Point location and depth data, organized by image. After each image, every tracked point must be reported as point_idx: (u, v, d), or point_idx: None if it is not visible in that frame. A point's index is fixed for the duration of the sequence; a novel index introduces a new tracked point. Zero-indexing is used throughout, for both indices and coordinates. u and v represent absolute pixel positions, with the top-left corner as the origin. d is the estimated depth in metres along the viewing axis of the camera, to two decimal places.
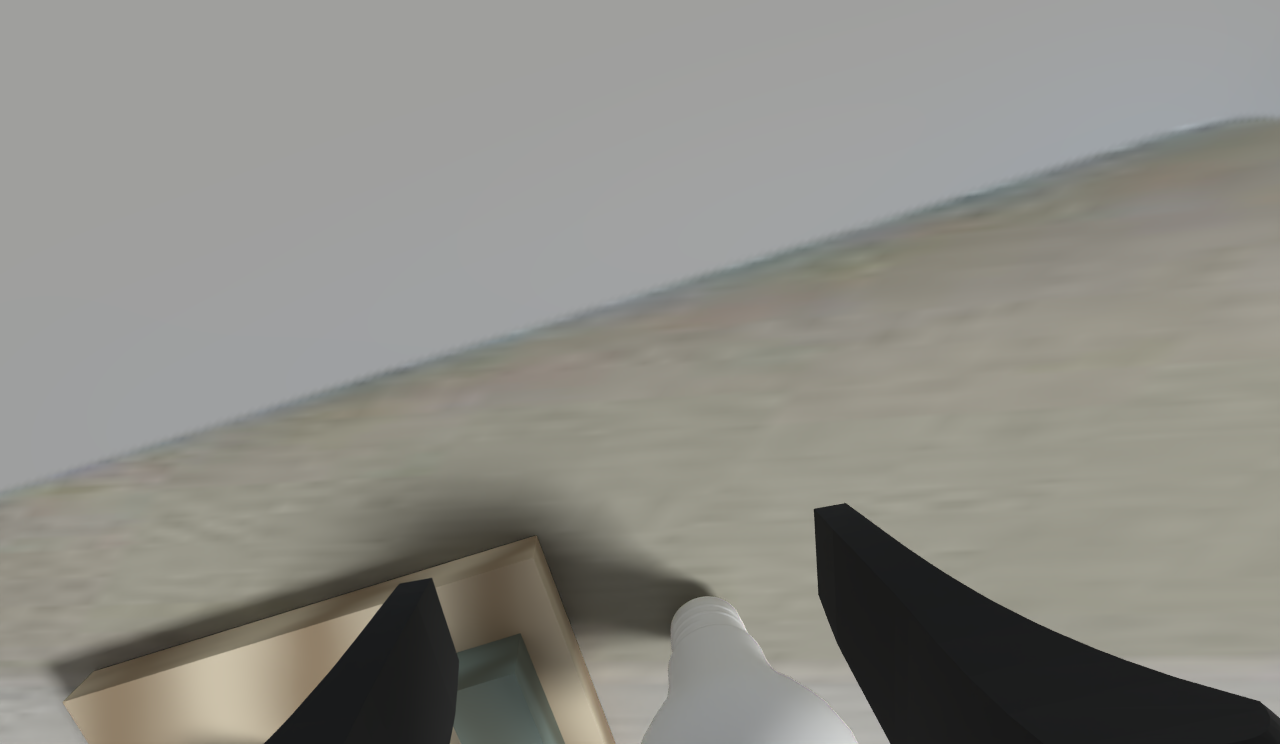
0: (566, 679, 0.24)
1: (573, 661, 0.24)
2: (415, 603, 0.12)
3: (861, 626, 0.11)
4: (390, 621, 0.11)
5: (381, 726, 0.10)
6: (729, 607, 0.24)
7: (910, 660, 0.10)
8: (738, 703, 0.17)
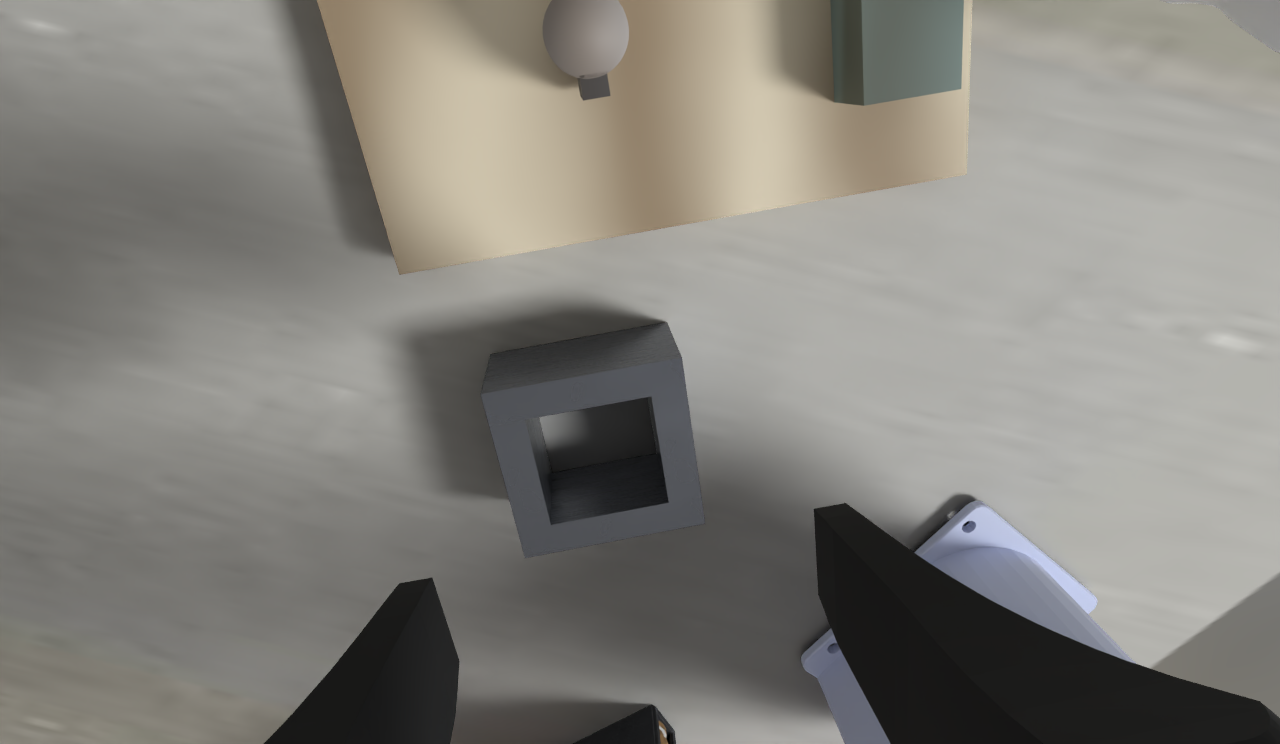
0: None
1: None
2: (415, 603, 0.12)
3: (861, 627, 0.11)
4: (390, 621, 0.11)
5: (381, 726, 0.10)
6: None
7: (910, 660, 0.10)
8: None
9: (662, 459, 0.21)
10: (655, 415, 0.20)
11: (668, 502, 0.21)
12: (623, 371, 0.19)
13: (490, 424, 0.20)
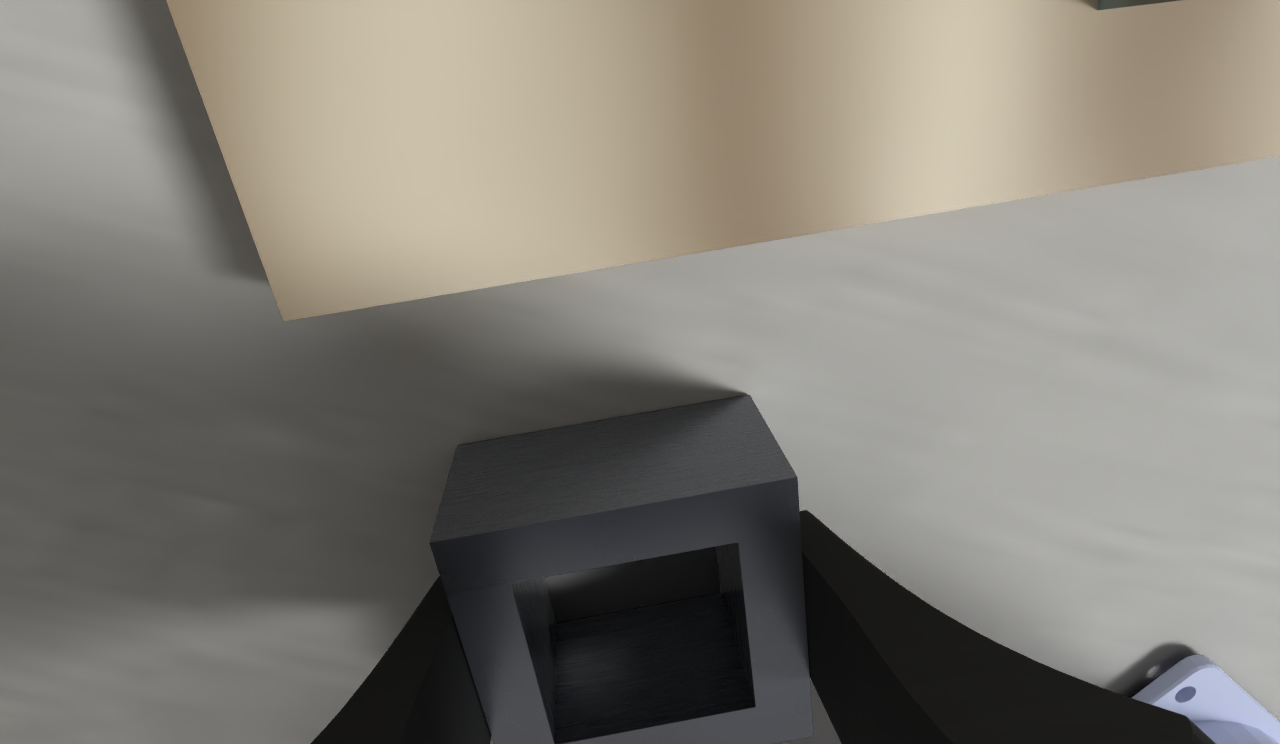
0: None
1: None
2: None
3: (817, 635, 0.11)
4: (435, 613, 0.11)
5: (432, 716, 0.10)
6: None
7: (858, 670, 0.10)
8: None
9: (749, 641, 0.12)
10: (743, 572, 0.11)
11: (755, 706, 0.13)
12: (690, 500, 0.11)
13: (448, 592, 0.11)
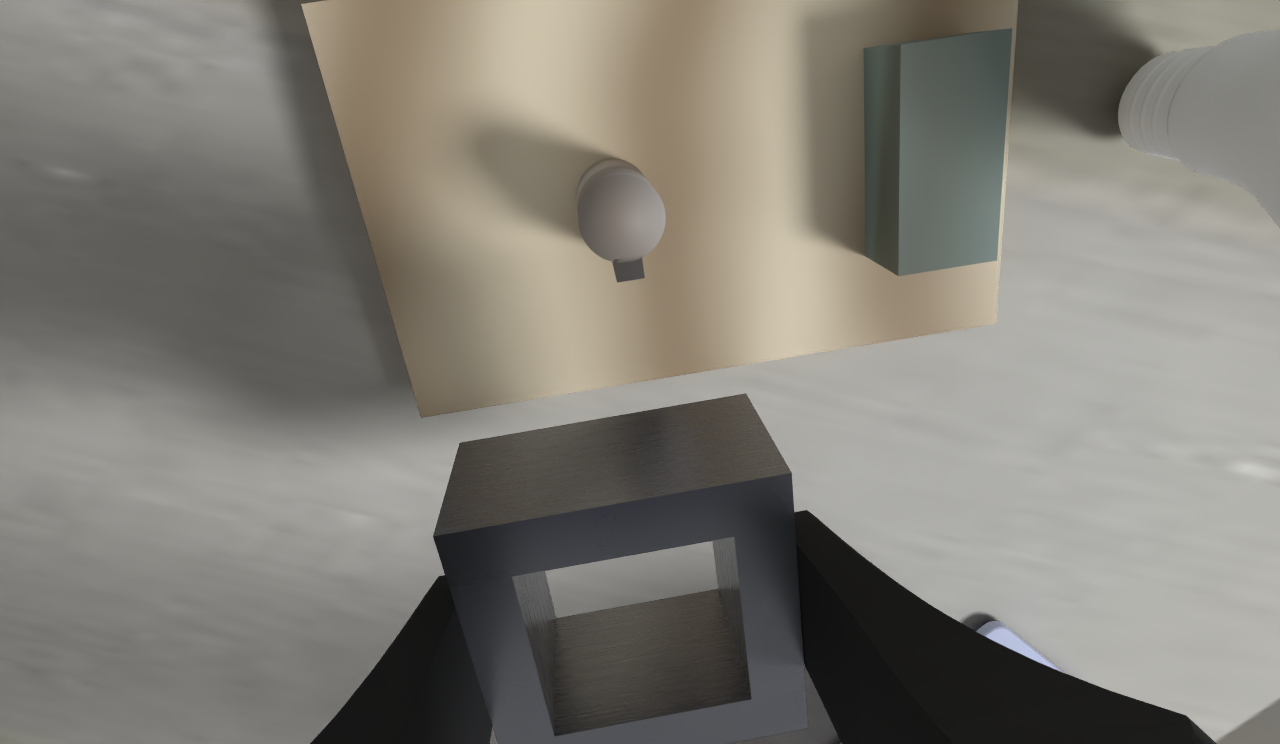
0: None
1: (1010, 100, 0.17)
2: None
3: (818, 635, 0.11)
4: (435, 613, 0.11)
5: (432, 716, 0.10)
6: None
7: (859, 670, 0.10)
8: None
9: (745, 634, 0.12)
10: (738, 566, 0.12)
11: (751, 698, 0.13)
12: (687, 495, 0.11)
13: (451, 584, 0.11)
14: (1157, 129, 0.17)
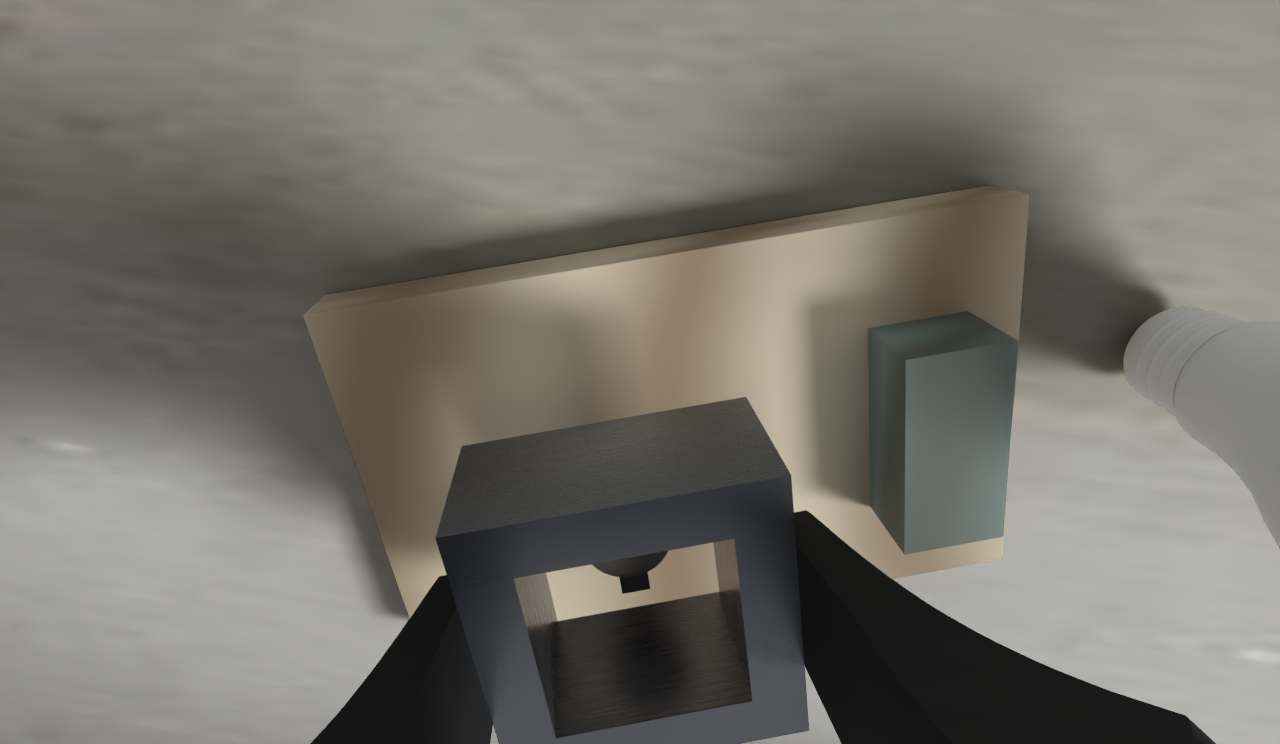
0: None
1: None
2: None
3: (817, 635, 0.11)
4: (435, 613, 0.11)
5: (433, 716, 0.10)
6: None
7: (858, 670, 0.10)
8: None
9: (746, 636, 0.12)
10: (739, 568, 0.12)
11: (752, 700, 0.13)
12: (687, 498, 0.11)
13: (453, 586, 0.11)
14: (1163, 396, 0.17)
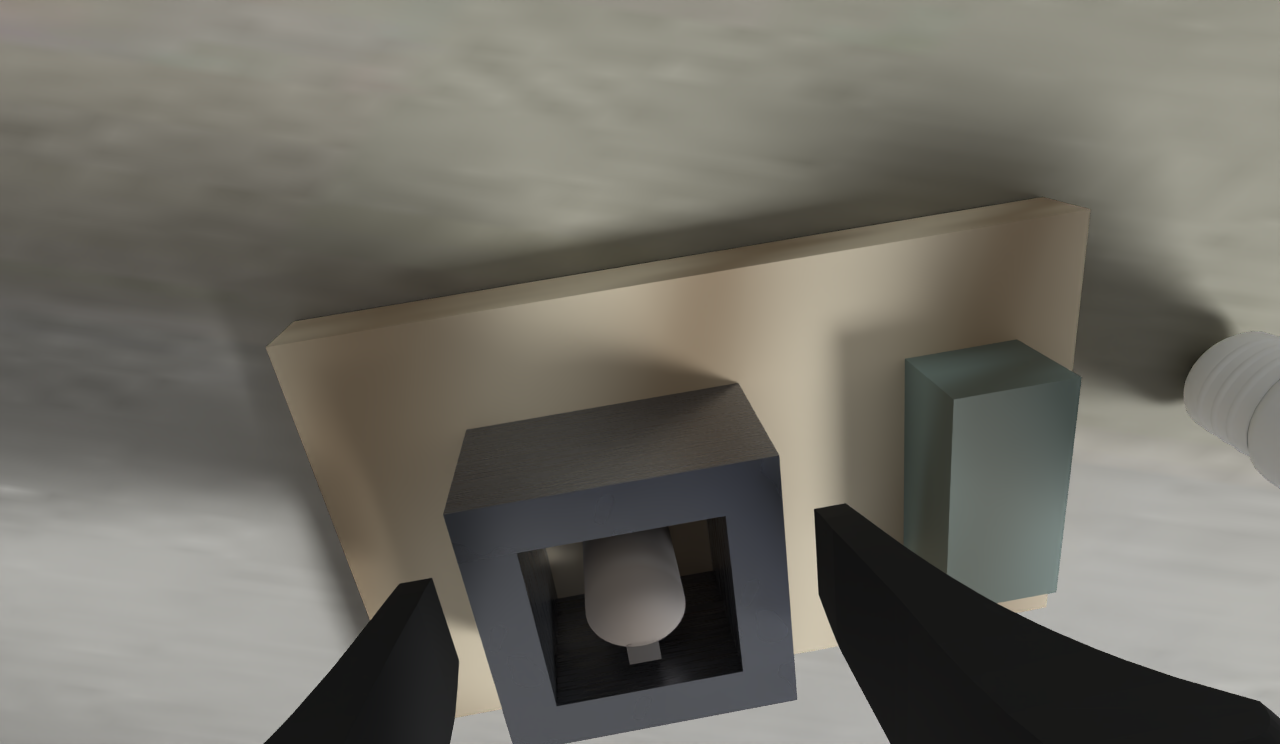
0: None
1: None
2: (415, 603, 0.12)
3: (861, 627, 0.11)
4: (390, 621, 0.11)
5: (381, 726, 0.10)
6: None
7: (910, 660, 0.10)
8: None
9: (737, 609, 0.13)
10: (730, 544, 0.12)
11: (743, 670, 0.14)
12: (681, 477, 0.12)
13: (459, 561, 0.12)
14: (1234, 433, 0.15)
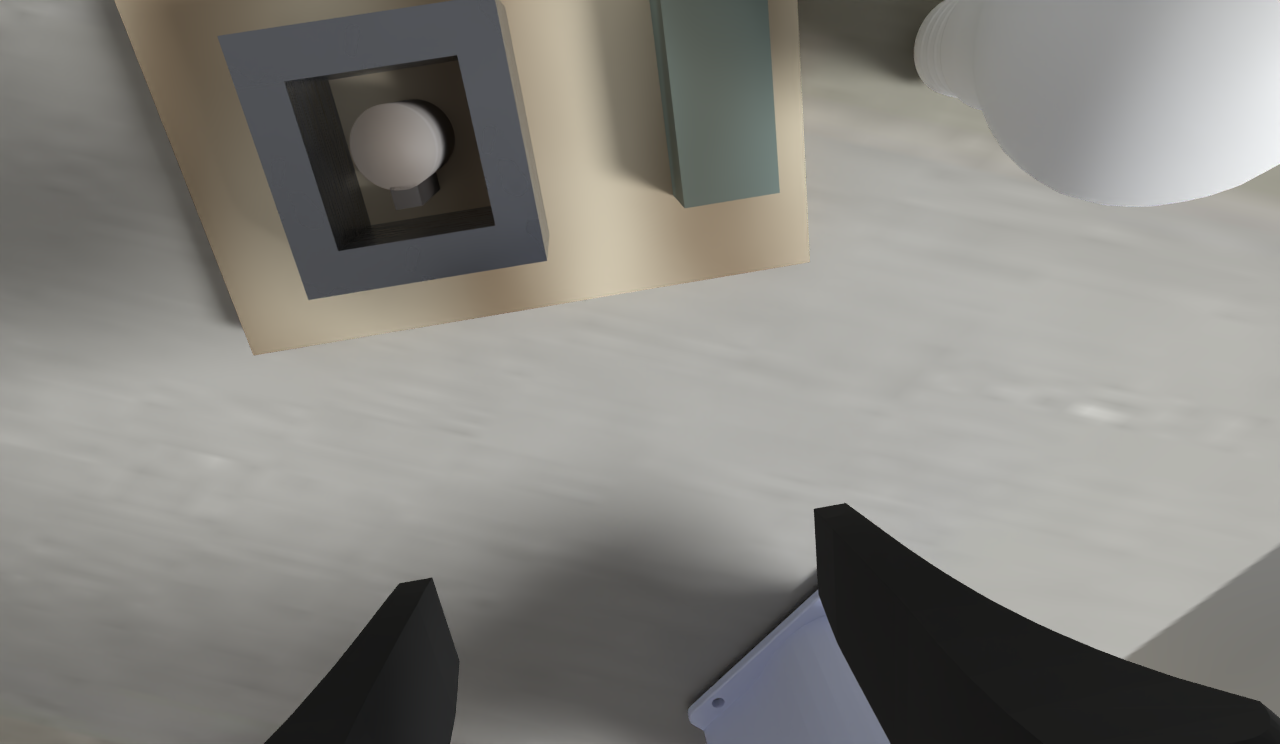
0: (784, 67, 0.18)
1: (798, 41, 0.18)
2: (415, 603, 0.12)
3: (861, 627, 0.11)
4: (390, 621, 0.11)
5: (381, 726, 0.10)
6: None
7: (910, 660, 0.10)
8: None
9: (481, 158, 0.16)
10: (465, 86, 0.15)
11: (495, 224, 0.16)
12: (414, 11, 0.14)
13: (236, 86, 0.15)
14: (938, 68, 0.18)
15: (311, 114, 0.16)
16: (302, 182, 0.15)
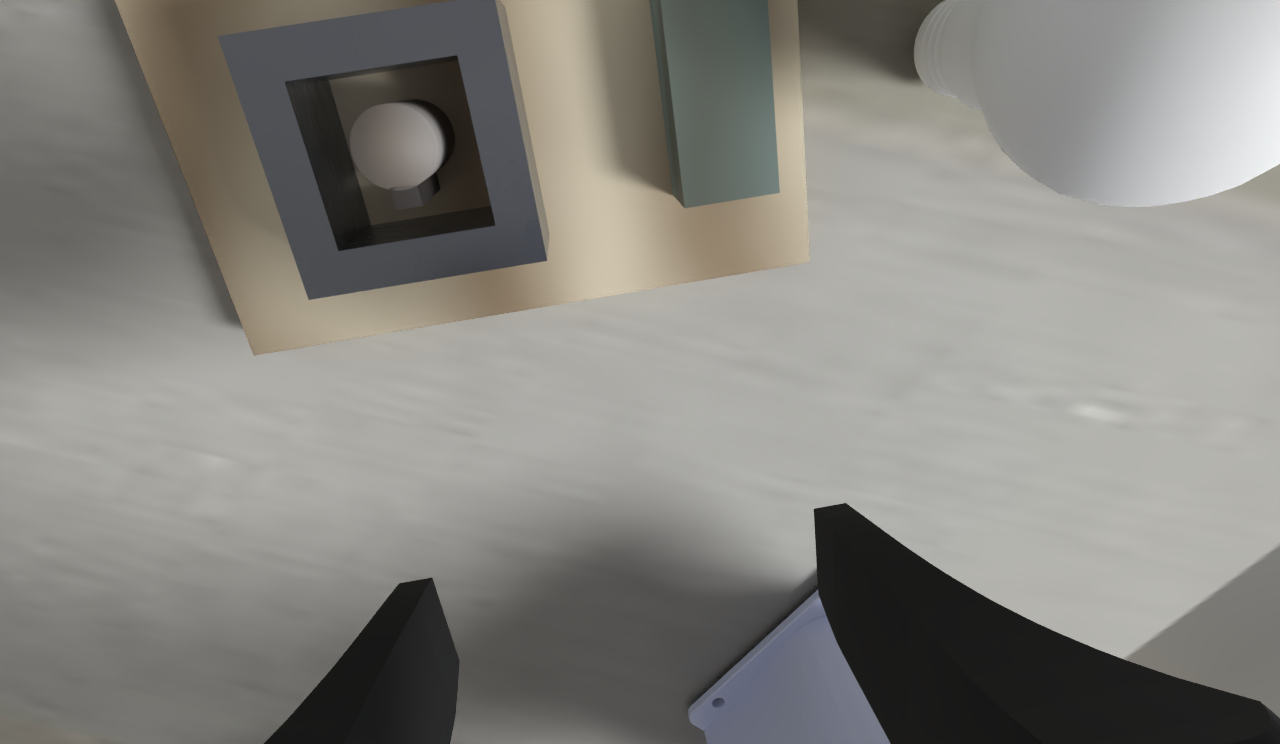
0: (784, 67, 0.18)
1: (798, 42, 0.18)
2: (415, 603, 0.12)
3: (861, 627, 0.11)
4: (390, 621, 0.11)
5: (381, 726, 0.10)
6: None
7: (910, 660, 0.10)
8: None
9: (481, 158, 0.16)
10: (465, 86, 0.15)
11: (495, 224, 0.16)
12: (414, 11, 0.14)
13: (237, 86, 0.15)
14: (937, 68, 0.18)
15: (311, 114, 0.16)
16: (302, 182, 0.15)
